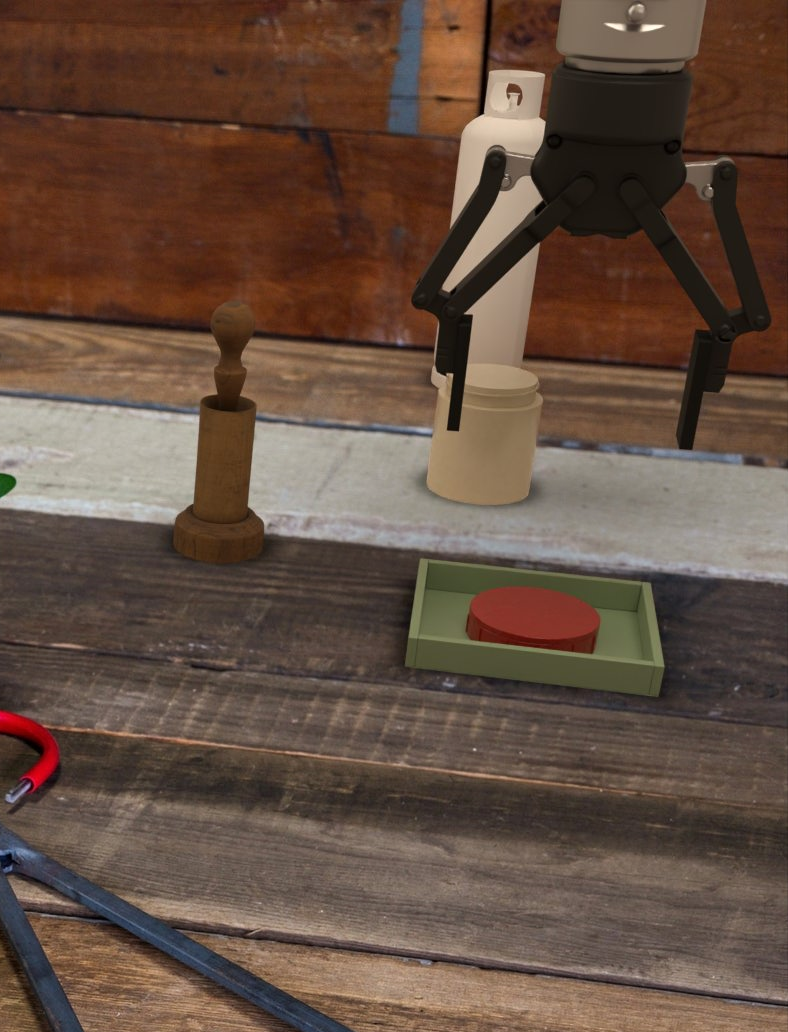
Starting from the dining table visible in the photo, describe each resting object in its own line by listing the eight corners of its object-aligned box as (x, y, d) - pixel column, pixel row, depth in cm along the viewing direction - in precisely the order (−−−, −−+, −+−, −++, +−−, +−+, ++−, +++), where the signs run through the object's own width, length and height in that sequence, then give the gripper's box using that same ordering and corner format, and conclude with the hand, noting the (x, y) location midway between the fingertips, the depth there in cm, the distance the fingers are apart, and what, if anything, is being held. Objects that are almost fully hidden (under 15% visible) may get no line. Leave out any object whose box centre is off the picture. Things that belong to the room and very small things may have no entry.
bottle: (416, 390, 158) (454, 73, 145) (450, 370, 164) (491, 65, 151) (497, 406, 154) (545, 82, 141) (530, 386, 160) (578, 73, 147)
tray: (644, 616, 113) (650, 582, 112) (657, 703, 102) (665, 666, 101) (415, 591, 116) (420, 557, 115) (403, 673, 105) (408, 637, 104)
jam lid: (477, 602, 114) (481, 578, 113) (602, 623, 111) (607, 598, 110) (455, 650, 107) (459, 625, 106) (588, 674, 104) (592, 648, 103)
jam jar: (527, 480, 137) (545, 366, 132) (528, 515, 130) (547, 395, 125) (428, 471, 138) (442, 357, 134) (423, 504, 131) (438, 385, 127)
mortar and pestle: (258, 572, 119) (279, 319, 110) (167, 564, 120) (180, 312, 111) (265, 537, 124) (285, 294, 116) (178, 530, 125) (191, 288, 117)
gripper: (390, 62, 92) (355, 435, 102) (879, 80, 87) (792, 471, 97) (399, 46, 98) (366, 399, 108) (855, 62, 93) (775, 430, 103)
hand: (567, 434), depth 103 cm, fingers open, 13 cm apart
